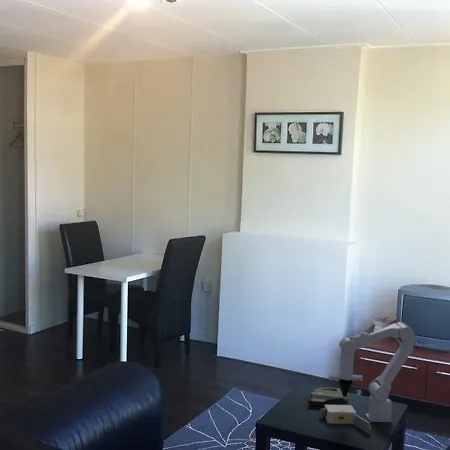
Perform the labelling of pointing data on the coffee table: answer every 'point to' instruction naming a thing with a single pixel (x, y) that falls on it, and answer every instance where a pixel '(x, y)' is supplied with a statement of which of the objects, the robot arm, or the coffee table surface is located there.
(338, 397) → the camcorder
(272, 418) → the coffee table surface
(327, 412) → the camera case
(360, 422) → the side door
